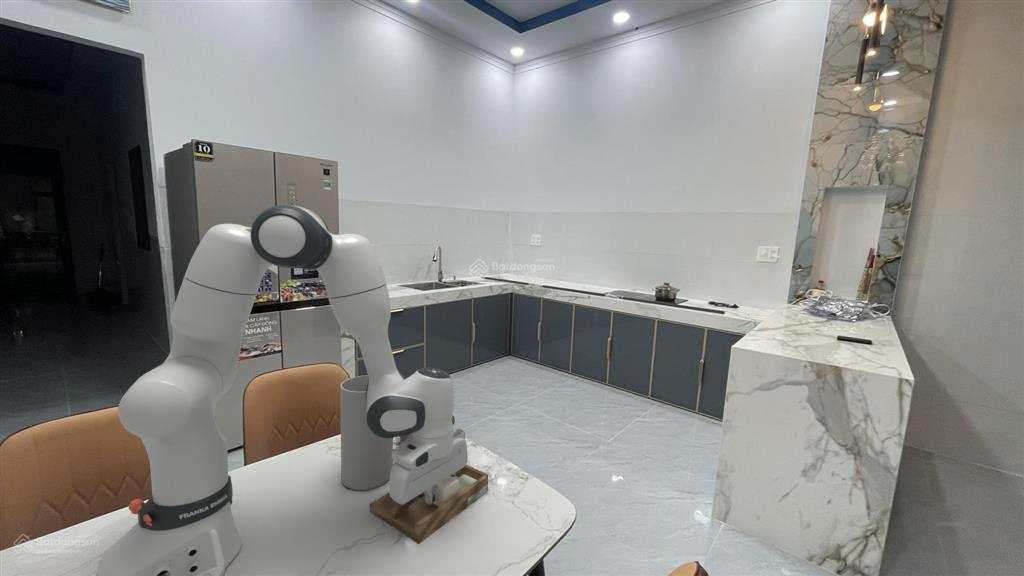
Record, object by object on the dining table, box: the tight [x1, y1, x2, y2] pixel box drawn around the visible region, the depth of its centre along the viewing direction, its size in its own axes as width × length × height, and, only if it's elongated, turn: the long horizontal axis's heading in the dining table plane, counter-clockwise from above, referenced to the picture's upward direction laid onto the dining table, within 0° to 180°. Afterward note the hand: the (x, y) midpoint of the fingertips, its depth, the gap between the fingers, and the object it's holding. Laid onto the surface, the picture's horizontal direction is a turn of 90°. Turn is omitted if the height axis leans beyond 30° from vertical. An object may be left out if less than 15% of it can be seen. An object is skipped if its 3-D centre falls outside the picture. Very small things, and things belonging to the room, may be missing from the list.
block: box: [433, 476, 459, 507], centre depth 94 cm, size 5×5×4 cm
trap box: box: [369, 464, 489, 545], centre depth 96 cm, size 23×16×4 cm
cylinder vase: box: [339, 374, 394, 491], centre depth 104 cm, size 12×12×25 cm
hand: (431, 501), depth 91 cm, fingers closed
